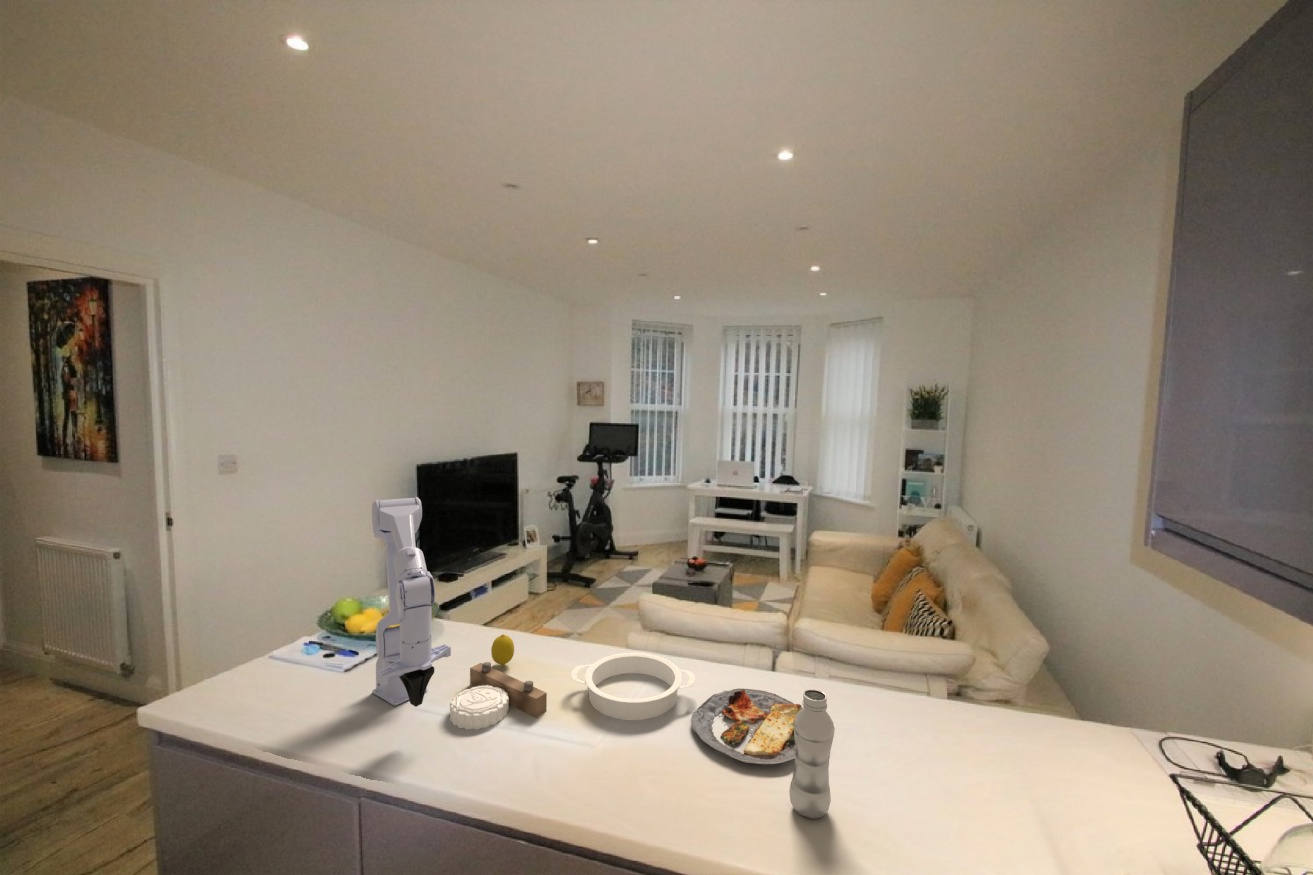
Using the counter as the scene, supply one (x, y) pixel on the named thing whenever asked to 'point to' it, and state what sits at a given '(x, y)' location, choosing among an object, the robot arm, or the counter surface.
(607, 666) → the pot
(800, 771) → the plastic bottle
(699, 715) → the food plate
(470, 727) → the mooncake
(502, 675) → the bar
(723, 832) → the counter surface
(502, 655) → the lemon
